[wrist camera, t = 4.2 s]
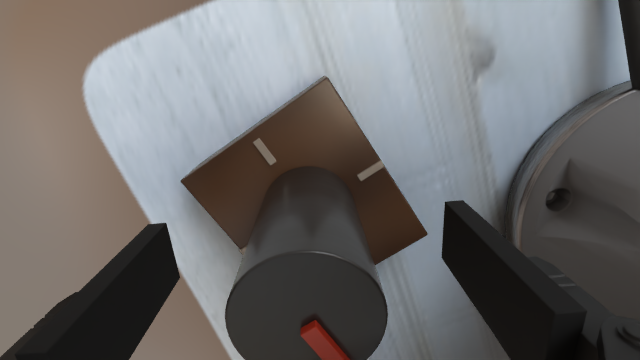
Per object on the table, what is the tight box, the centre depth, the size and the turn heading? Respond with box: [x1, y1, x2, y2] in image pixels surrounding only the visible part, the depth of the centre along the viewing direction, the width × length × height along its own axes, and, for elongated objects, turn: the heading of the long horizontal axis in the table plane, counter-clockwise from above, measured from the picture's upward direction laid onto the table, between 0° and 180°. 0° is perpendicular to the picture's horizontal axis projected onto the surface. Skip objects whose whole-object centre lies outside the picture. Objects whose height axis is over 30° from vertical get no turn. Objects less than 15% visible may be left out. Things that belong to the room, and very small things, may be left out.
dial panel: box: [181, 76, 427, 265], centre depth 19 cm, size 10×9×3 cm
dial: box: [225, 166, 388, 360], centre depth 13 cm, size 5×5×8 cm
